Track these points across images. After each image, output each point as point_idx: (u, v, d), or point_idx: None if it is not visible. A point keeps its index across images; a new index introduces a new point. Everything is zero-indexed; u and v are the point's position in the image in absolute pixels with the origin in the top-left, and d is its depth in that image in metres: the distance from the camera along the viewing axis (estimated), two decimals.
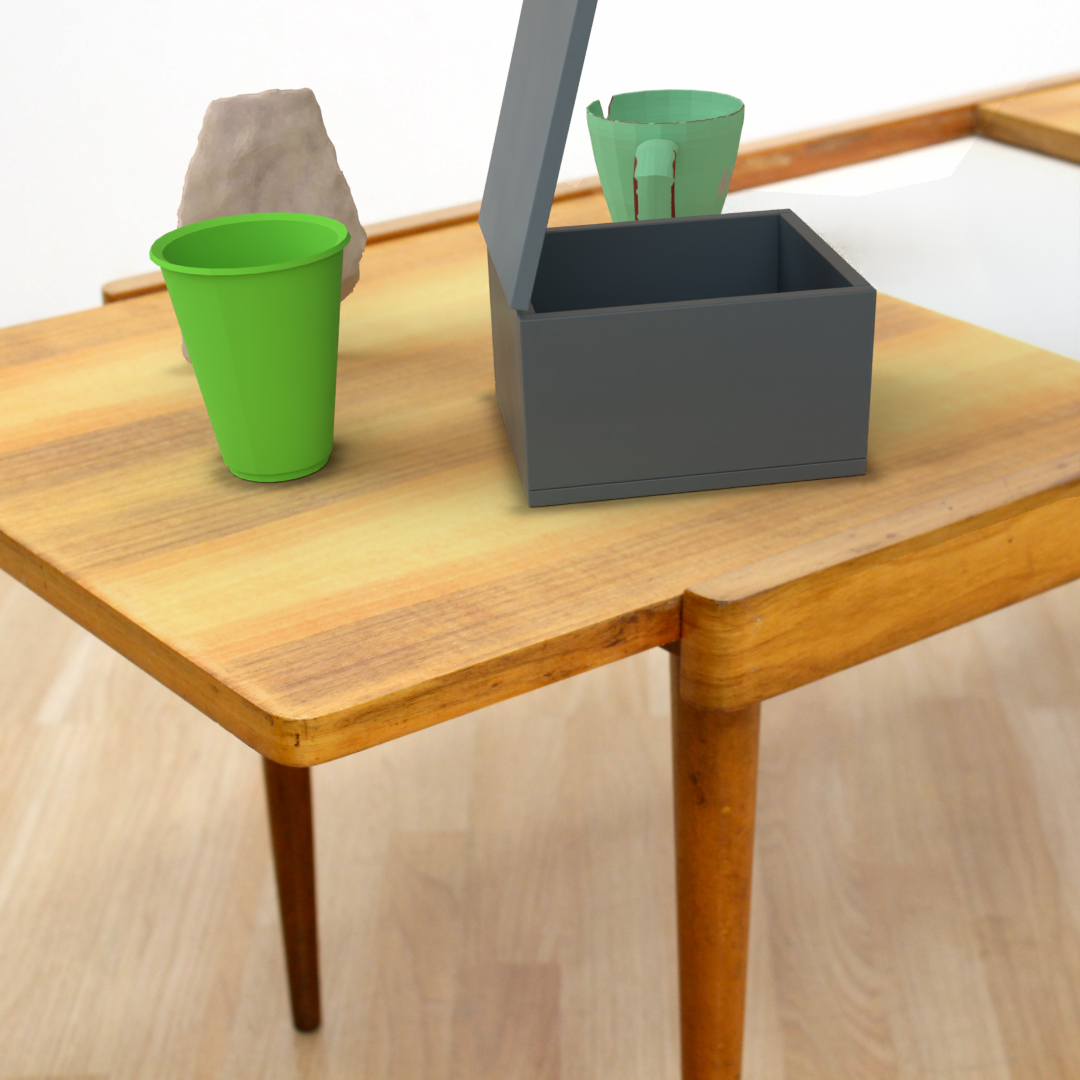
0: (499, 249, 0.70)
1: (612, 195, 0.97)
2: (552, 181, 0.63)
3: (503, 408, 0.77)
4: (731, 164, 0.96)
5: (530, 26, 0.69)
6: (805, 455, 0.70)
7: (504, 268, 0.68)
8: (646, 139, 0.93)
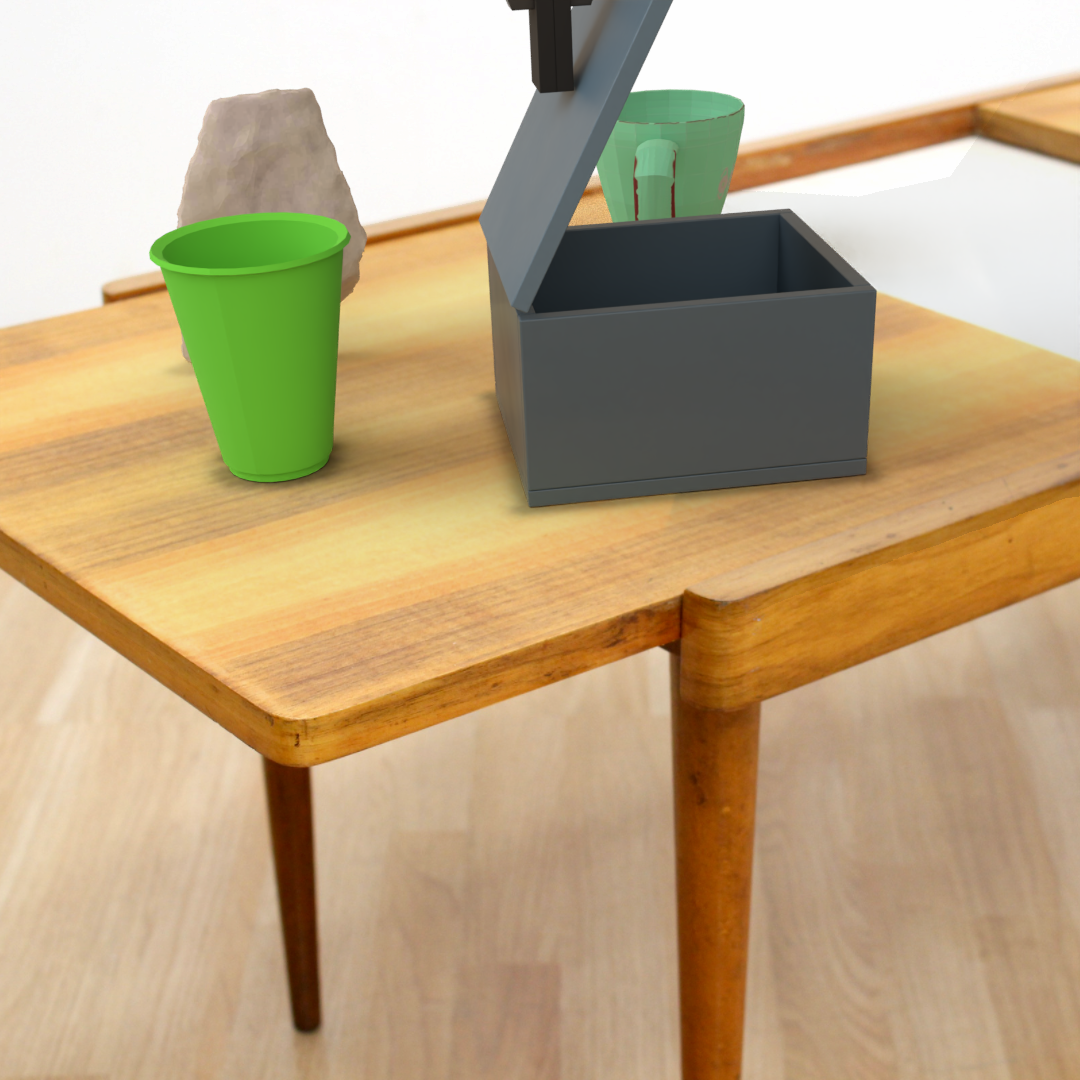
0: (504, 248, 0.70)
1: (612, 195, 0.97)
2: (579, 190, 0.63)
3: (503, 408, 0.77)
4: (731, 164, 0.96)
5: (576, 39, 0.70)
6: (805, 455, 0.70)
7: (508, 267, 0.68)
8: (646, 139, 0.93)
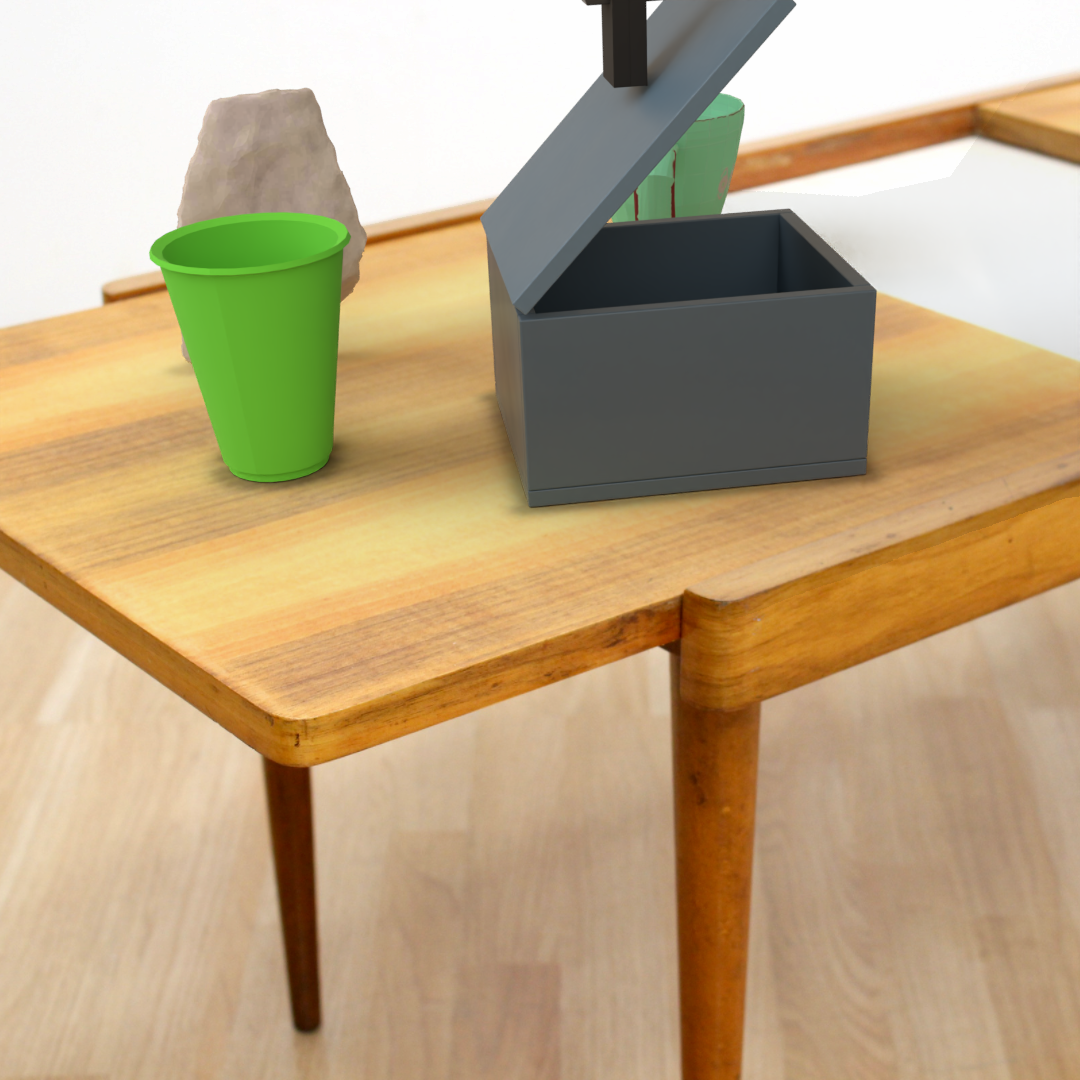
0: (510, 249, 0.70)
1: None
2: (610, 212, 0.64)
3: (503, 408, 0.77)
4: (731, 164, 0.96)
5: None
6: (805, 455, 0.70)
7: (514, 268, 0.68)
8: None
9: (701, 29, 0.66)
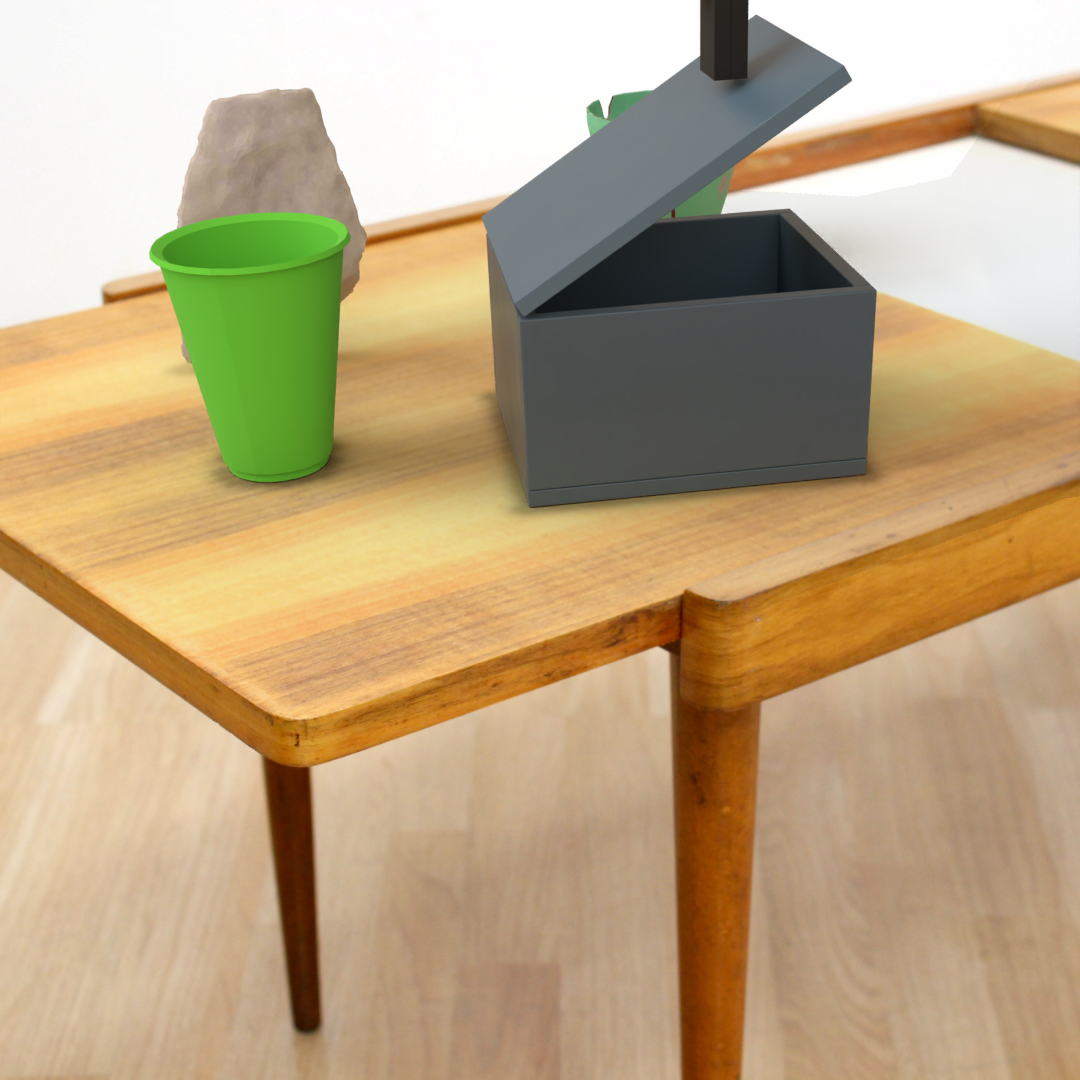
0: (515, 251, 0.70)
1: None
2: (630, 235, 0.64)
3: (503, 408, 0.77)
4: None
5: (663, 109, 0.72)
6: (805, 455, 0.70)
7: (518, 269, 0.68)
8: None
9: (748, 83, 0.68)
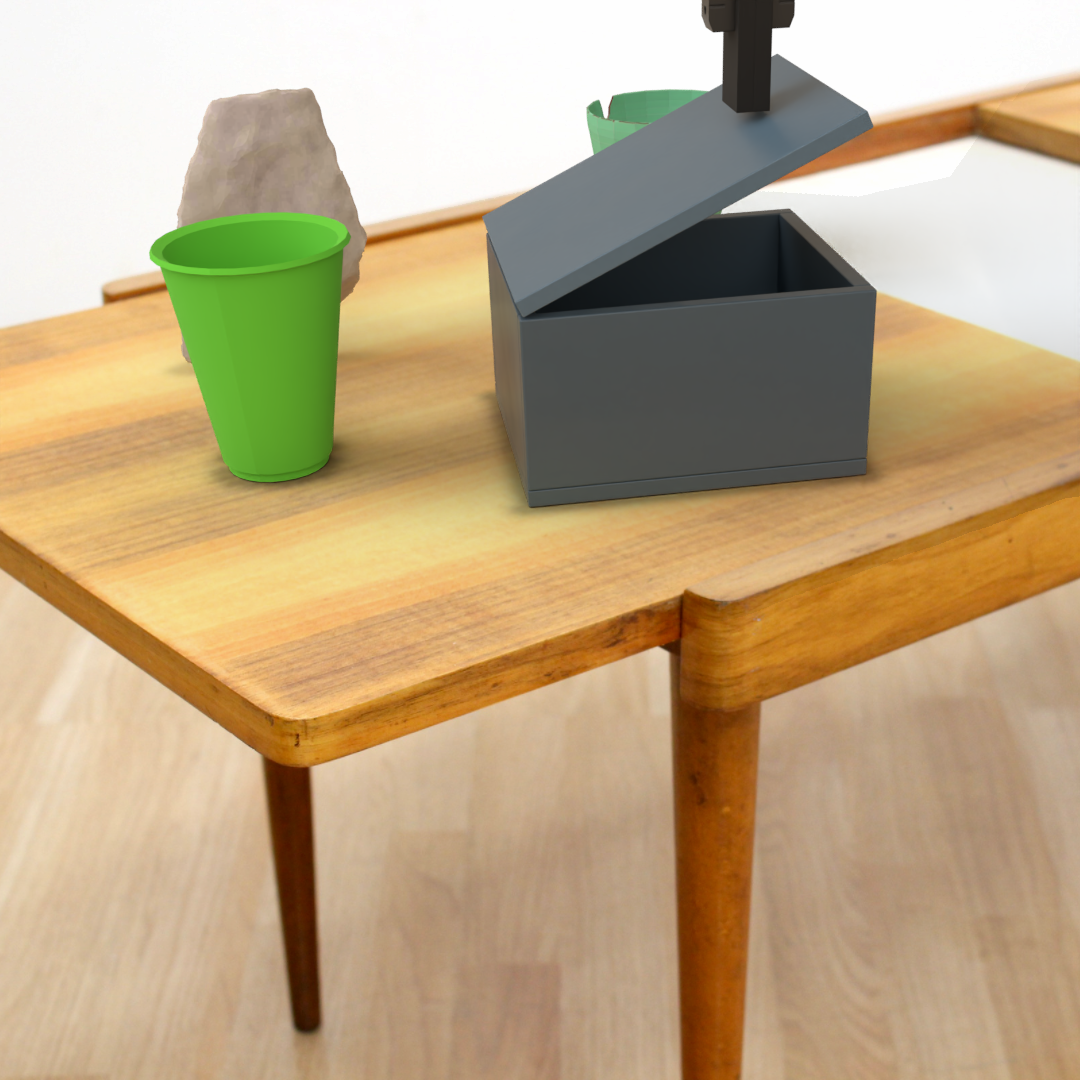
0: (517, 253, 0.70)
1: None
2: (638, 250, 0.65)
3: (503, 408, 0.77)
4: None
5: (678, 133, 0.73)
6: (805, 455, 0.70)
7: (520, 270, 0.68)
8: None
9: (768, 118, 0.68)
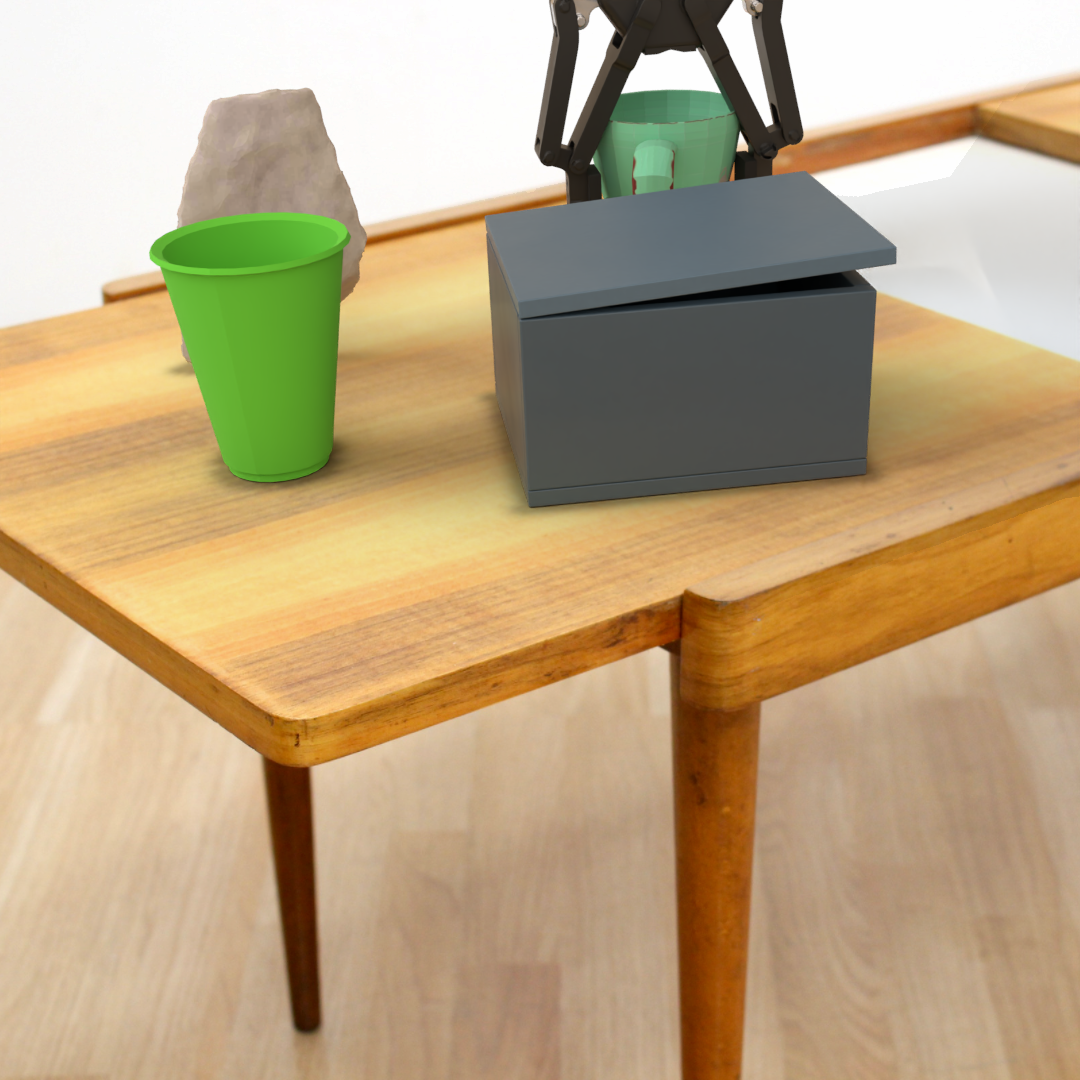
0: (523, 259, 0.70)
1: (611, 195, 0.97)
2: (649, 295, 0.66)
3: (503, 408, 0.77)
4: (730, 164, 0.96)
5: (700, 207, 0.74)
6: (805, 455, 0.70)
7: (525, 275, 0.68)
8: (645, 139, 0.93)
9: (794, 222, 0.71)
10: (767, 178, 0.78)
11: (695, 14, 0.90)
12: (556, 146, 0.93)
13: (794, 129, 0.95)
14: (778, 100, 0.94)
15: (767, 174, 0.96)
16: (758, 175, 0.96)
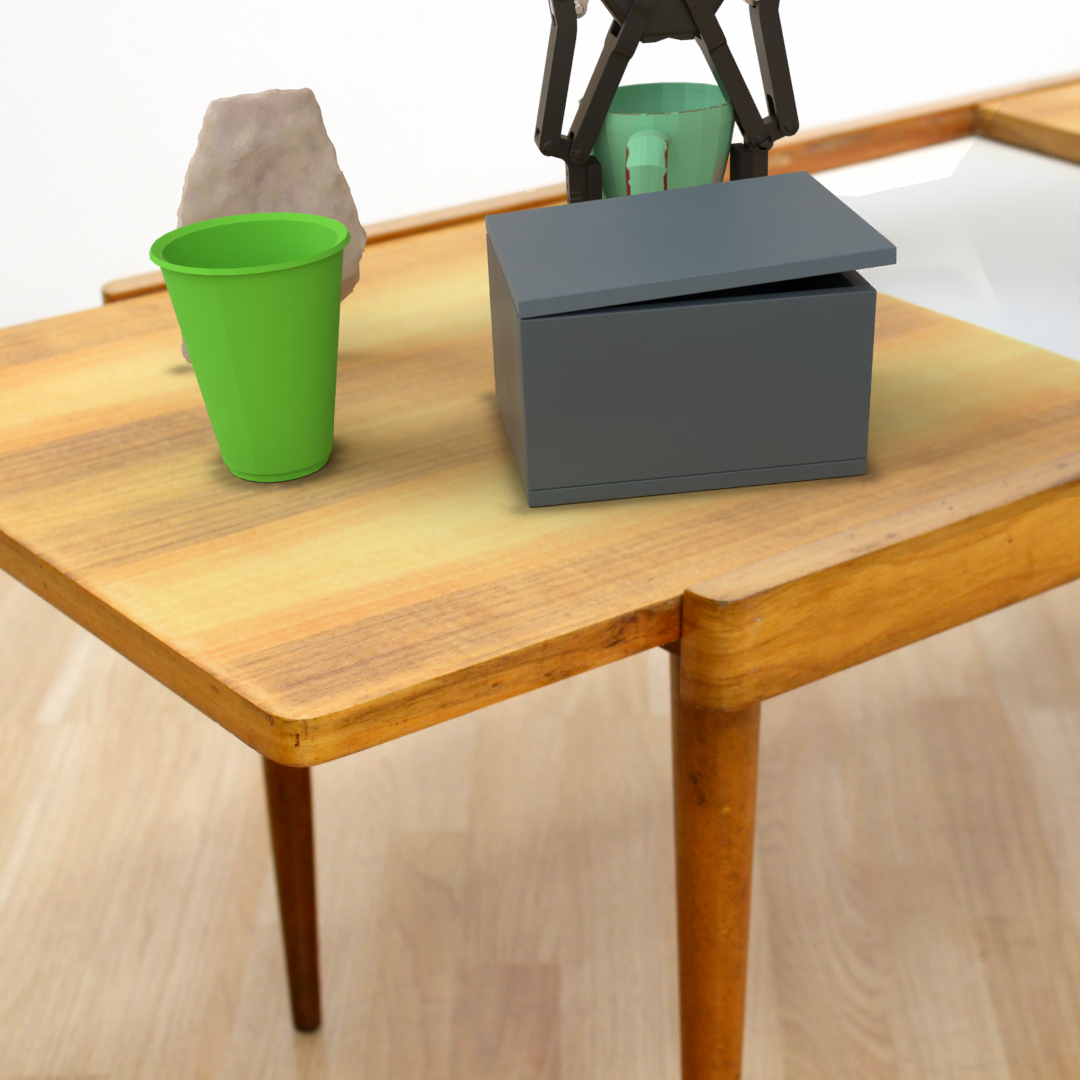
0: (523, 259, 0.70)
1: (606, 188, 0.96)
2: (649, 295, 0.66)
3: (503, 408, 0.77)
4: (725, 155, 0.95)
5: (700, 207, 0.74)
6: (805, 455, 0.70)
7: (525, 275, 0.68)
8: (638, 130, 0.92)
9: (794, 222, 0.71)
10: (767, 178, 0.78)
11: (693, 2, 0.89)
12: (556, 136, 0.93)
13: (790, 120, 0.94)
14: (774, 90, 0.93)
15: (763, 166, 0.96)
16: (754, 167, 0.96)
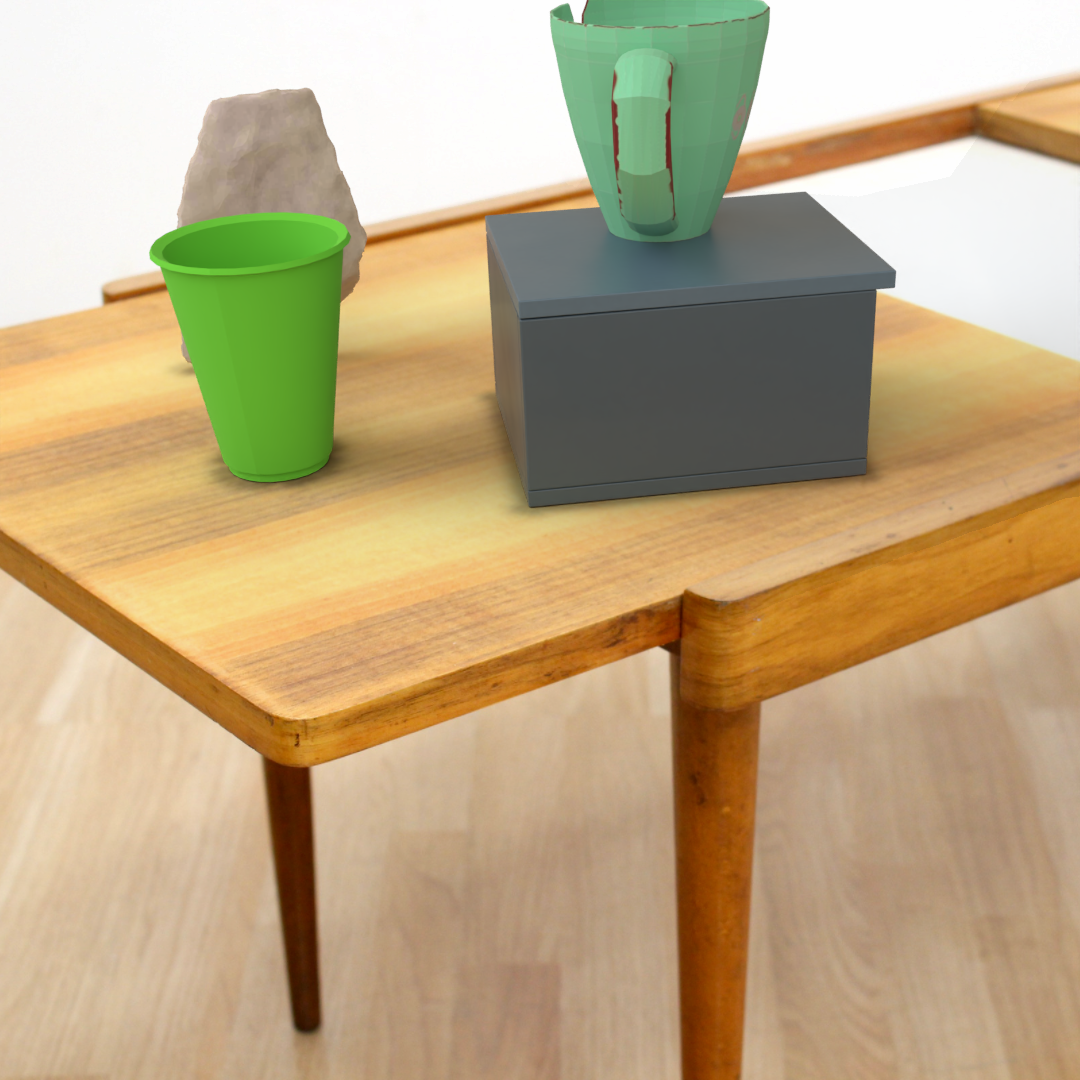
0: (523, 260, 0.70)
1: (585, 133, 0.70)
2: (649, 304, 0.66)
3: (503, 408, 0.77)
4: (751, 90, 0.69)
5: None
6: (805, 455, 0.70)
7: (526, 276, 0.68)
8: None
9: (795, 240, 0.71)
10: (768, 196, 0.78)
11: None
12: None
13: None
14: None
15: None
16: None
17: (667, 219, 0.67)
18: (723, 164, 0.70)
